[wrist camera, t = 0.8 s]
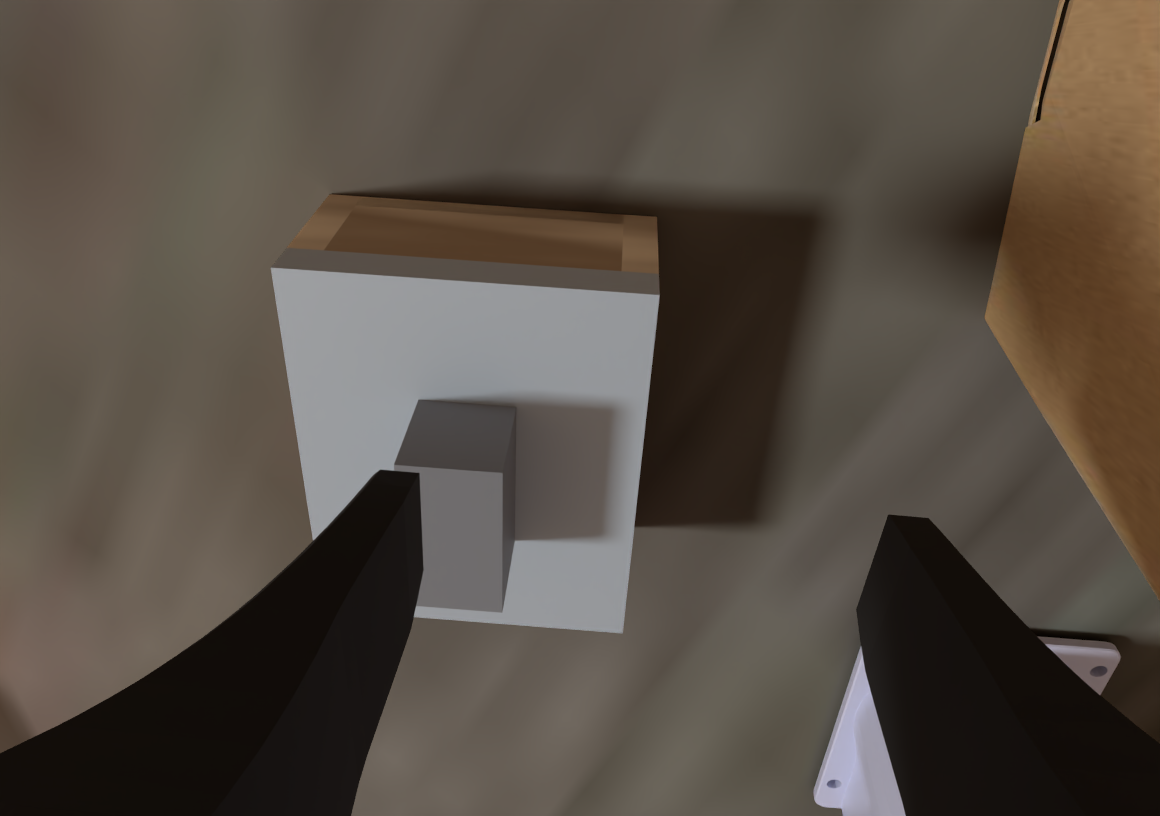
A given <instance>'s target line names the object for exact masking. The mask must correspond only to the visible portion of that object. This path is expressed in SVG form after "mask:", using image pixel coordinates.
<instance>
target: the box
mask: <svg viewBox="0 0 1160 816" xmlns="http://www.w3.org/2000/svg"><path fill="white" fill-rule="evenodd" d="M287 248H297V249H311V250H326V251H340V252H354V253H368V254H383V255H397V256H411V257H425V258H440V259H454V260H468V261H482V262H497V263H511V264H525V265H539V266H554V267H568V268H582V269H596V270H611V271H625V272H639V273H653V274H659V261H658V232H657V217H652V216H638V215H623V214H609V213H594V212H580V211H565V210H551V209H536V208H522V207H507V206H493V205H478V204H464V203H449V202H435V201H420V200H406V199H391V198H377V197H362V196H348V195H333V194H329V196H328V197H327V198H326V199H325V201H324V202H323V203H322V204H321V206H320V207H319V208H318V209H317V211H316V212H315V213H314V214H313V216H312V217H311V218H310V219H309V221H308V222H307V223H306V224H305V226H304V227H303V228H302V229H301V231H300V232H299V233H298V234H297V236H296V237H295V238H294V239H293V241H292V242H291V243H290V244H289V246H288V247H287Z"/></svg>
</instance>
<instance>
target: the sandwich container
mask: <svg viewBox="0 0 1160 816" xmlns="http://www.w3.org/2000/svg"><path fill="white" fill-rule="evenodd" d="M1064 2H1065V0H1060V1H1059V4H1058V8H1057V12H1056V16H1055V20H1054V24H1053V28H1052V32H1051V36H1050V40H1049V44H1048V48H1047V51H1046V55H1045V59H1044V63H1043V67H1042V71H1041V74H1040V78H1039V82H1038V86H1037V90H1036V93H1035V97H1034V101H1033V105H1032V109H1031V113H1030V118H1029V123H1028V127H1026V128H1025V133H1024V137H1023V142H1022V147H1021V151H1020V156H1019V161H1018V165H1017V170H1016V175H1015V179H1014V184H1013V189H1012V193H1011V198H1010V203H1009V207H1008V212H1007V217H1006V221H1005V226H1004V231H1003V235H1002V240H1001V244H1000V249H999V254H998V258H997V263H996V268H995V272H994V277H993V282H992V286H991V291H990V295H989V300H988V304H987V309H986V313H985V320H986V322H987V324H988V325H989V327H990V329H991V330H992V332H993V334H994V335H995V337H996V339H997V340H998V342H999V344H1000V345H1001V347H1002V349H1003V350H1004V352H1005V354H1006V355H1007V357H1008V359H1009V360H1010V362H1011V364H1012V365H1013V367H1014V369H1015V370H1016V372H1017V374H1018V375H1019V377H1020V379H1021V380H1022V382H1023V383H1024V385H1025V387H1026V388H1027V390H1028V392H1029V393H1030V395H1031V397H1032V398H1033V400H1034V402H1035V403H1036V405H1037V407H1038V408H1039V410H1040V412H1041V413H1042V415H1043V416H1044V418H1045V420H1046V421H1047V423H1048V424H1049V426H1050V428H1051V429H1052V431H1053V432H1054V434H1055V435H1056V437H1057V439H1058V440H1059V442H1060V443H1061V445H1062V447H1063V448H1064V450H1065V451H1066V453H1067V455H1068V456H1069V458H1070V459H1071V461H1072V462H1073V464H1074V466H1075V467H1076V469H1077V470H1078V472H1079V474H1080V475H1081V477H1082V478H1083V480H1084V482H1085V483H1086V485H1087V486H1088V488H1089V489H1090V491H1091V493H1092V494H1093V496H1094V497H1095V499H1096V501H1097V502H1098V504H1099V505H1100V507H1101V508H1102V510H1103V512H1104V513H1105V515H1106V516H1107V518H1108V520H1109V521H1110V523H1111V524H1112V526H1113V528H1114V529H1115V531H1116V532H1117V534H1118V535H1119V537H1120V539H1121V540H1122V542H1123V543H1124V545H1125V547H1126V548H1127V550H1128V551H1129V553H1130V555H1131V556H1132V558H1133V559H1134V561H1135V562H1136V564H1137V566H1138V567H1139V569H1140V570H1141V572H1142V574H1143V575H1144V577H1145V578H1146V580H1147V582H1148V583H1149V585H1150V586H1151V588H1152V589H1153V591H1154V593H1155V594H1156V596H1157V597H1158V599H1159V601H1160V0H1070V1H1069V4H1068V8H1067V12H1066V16H1065V19H1064V23H1063V27H1062V31H1061V34H1060V38H1059V42H1058V46H1057V49H1056V53H1055V57H1054V61H1053V64H1052V68H1051V72H1050V76H1049V79H1048V83H1047V87H1046V90H1045V94H1044V98H1043V102H1042V111H1041V120H1040V121H1038V122H1036V123H1035V120H1036V115H1037V109H1038V104H1039V98H1040V93H1041V88H1042V84H1043V80H1044V77H1045V73H1046V69H1047V65H1048V61H1049V58H1050V54H1051V50H1052V46H1053V42H1054V39H1055V35H1056V31H1057V27H1058V23H1059V20H1060V16H1061V12H1062V8H1063V5H1064Z"/></svg>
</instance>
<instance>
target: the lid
mask: <svg viewBox="0 0 1160 816" xmlns="http://www.w3.org/2000/svg"><path fill="white" fill-rule="evenodd" d="M271 272H272V278H273V285H274V291H275V298H276V304H277V311H278V317H279V323H280V330H281V336H282V343H283V349H284V356H285V362H286V369H287V375H288V381H289V388H290V394H291V401H292V407H293V414H294V420H295V427H296V433H297V440H298V446H299V452H300V459H301V465H302V472H303V478H304V485H305V491H306V498H307V504H308V510H309V517H310V523H311V530H312V536H313V541H314V540H315V539H316V537H317V536H318V535H319V534H320V533H321V532H322V531H323V530H324V529H325V528H326V527H327V526H328V525H329V524H330V523H331V522H332V521H333V520H334V519H335V518H336V517H337V515H338V514H339V513H340V512H341V511H342V510H343V509H344V508H345V507H346V506H347V505H348V503H349V502H350V501H351V500H352V499H353V498H354V497H355V496H356V494H357V493H358V492H359V491H360V490H361V489H362V487H363V486H364V485H365V484H366V483H367V482H368V480H369V479H370V478H371V477H372V476H373V475H374V474H375V473H376V472H378V471H379V470H380V469H381V470H392V471H403V472H415V473H420V496H421V520H422V544H423V568H424V571H423V576H422V580H421V585H420V590H419V595H418V600H417V604H416V609H415V613H414V617H421V618H434V619H447V620H459V621H472V622H485V623H498V624H510V625H523V626H536V627H549V628H561V629H574V630H587V631H600V632H612V633H623V625H624V615H625V606H626V597H627V588H628V579H629V570H630V561H631V552H632V543H633V534H634V524H635V515H636V506H637V497H638V488H639V479H640V470H641V461H642V452H643V442H644V433H645V424H646V415H647V406H648V397H649V388H650V379H651V370H652V361H653V351H654V342H655V333H656V324H657V315H658V306H659V297H660V290H659V274H653V273H639V272H625V271H611V270H596V269H582V268H568V267H554V266H539V265H525V264H511V263H497V262H482V261H468V260H454V259H440V258H425V257H411V256H397V255H383V254H368V253H354V252H340V251H326V250H311V249H297V248H286V249H285V251H284V252H283V253H282V254H281V256H280V257H279V258H278V259H277V261H276V262H275V263H274V264H273V266H272V267H271Z"/></svg>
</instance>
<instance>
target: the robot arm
mask: <svg viewBox="0 0 1160 816" xmlns="http://www.w3.org/2000/svg"><path fill="white" fill-rule="evenodd" d="M423 571H424V568H423V544H422V520H421V496H420V473H415V472H403V471H392V470H381V469H380V470H379V471H378V472H376V473H375V474H374V475H373V476H372V477H371V478H370V479H369V480H368V482H367V483H366V484H365V485H364V486H363V487H362V489H361V490H360V491H359V492H358V493H357V494H356V496H355V497H354V498H353V499H352V500H351V501H350V502H349V503H348V505H347V506H346V507H345V508H344V509H343V510H342V511H341V512H340V513H339V514H338V515H337V517H336V518H335V519H334V520H333V521H332V522H331V523H330V524H329V525H328V526H327V527H326V528H325V529H324V530H323V531H322V532H321V533H320V534H319V535H318V536H317V537H316V539H315V540H314V541H313V542H312V543H311V544H310V545H309V546H308V547H307V548H306V549H305V550H304V551H303V552H302V553H301V554H300V555H299V556H298V557H297V558H296V559H295V560H294V561H293V562H292V563H290V564H289V565H288V566H287V567H286V568H285V569H284V570H283V571H282V572H281V573H280V574H278V575H277V576H276V577H275V578H274V579H273V580H272V581H271V582H270V583H269V584H267V585H266V586H265V587H264V588H263V589H262V590H261V591H260V592H259V593H258V594H256V595H255V596H254V597H253V598H252V599H251V600H249V601H248V602H247V603H246V604H245V605H243V606H242V607H241V608H240V609H239V610H237V611H236V612H235V613H234V614H232V615H231V616H230V617H229V618H227V619H226V620H225V621H224V622H222V623H221V624H220V625H218V626H217V627H216V628H214V629H213V630H212V631H210V632H209V633H208V634H207V635H205V636H204V637H203V638H201V639H200V640H198V641H197V642H195V643H194V644H193V645H191V646H190V647H188V648H187V649H185V650H184V651H183V652H181V653H180V654H178V655H177V656H175V657H174V658H172V659H171V660H169V661H168V662H166V663H165V664H163V665H162V666H160V667H159V668H157V669H156V670H154V671H153V672H151V673H150V674H148V675H147V676H145V677H144V678H142V679H140V680H139V681H137V682H135V683H134V684H132V685H130V686H129V687H127V688H125V689H124V690H122V691H120V692H118V693H117V694H115V695H113V696H112V697H110V698H108V699H106V700H105V701H103V702H101V703H99V704H97V705H96V706H94V707H92V708H90V709H88V710H86V711H85V712H83V713H81V714H79V715H77V716H75V717H74V718H72V719H70V720H68V721H66V722H64V723H62V724H60V725H58V726H56V727H54V728H52V729H50V730H48V731H46V732H44V733H42V734H39V735H37V736H35V737H33V738H31V739H29V740H27V741H25V742H23V743H21V744H19V745H17V746H15V747H13V748H10V749H8V750H6V751H4V752H2V753H0V816H351V813H352V809H353V805H354V801H355V796H356V792H357V788H358V784H359V781H360V777H361V774H362V771H363V767H364V764H365V761H366V757H367V754H368V751H369V749H370V746H371V743H372V740H373V737H374V734H375V731H376V729H377V726H378V723H379V720H380V717H381V714H382V711H383V709H384V706H385V703H386V700H387V697H388V694H389V691H390V689H391V686H392V683H393V680H394V677H395V674H396V671H397V668H398V666H399V663H400V660H401V657H402V654H403V651H404V648H405V645H406V642H407V639H408V636H409V633H410V630H411V627H412V622H413V618H414V613H415V609H416V604H417V600H418V595H419V590H420V585H421V580H422V576H423ZM856 610H857V618H858V626H859V633H860V641H861V647H860V650H859V653H858V656H857V659H856V662H855V665H854V668H853V671H852V675H851V678H850V681H849V684H848V687H847V690H846V693H845V696H844V699H843V702H842V705H841V708H840V711H839V714H838V717H837V720H836V723H835V726H834V730H833V733H832V736H831V739H830V742H829V745H828V748H827V751H826V754H825V757H824V760H823V763H822V766H821V769H820V772H819V775H818V778H817V781H816V784H815V788H814V799H815V802H816V803H817V804H819V805H820V806H823V807H831V808H842V812H843V816H1160V744H1159V743H1158V742H1157V741H1155V740H1154V739H1153V738H1151V737H1150V736H1149V735H1148V734H1146V733H1145V732H1144V731H1142V730H1141V729H1140V728H1139V727H1137V726H1136V725H1135V724H1134V723H1133V722H1131V721H1130V720H1129V719H1128V718H1127V717H1125V716H1124V715H1123V714H1122V713H1121V712H1119V711H1118V710H1117V709H1116V708H1115V707H1113V706H1112V705H1111V704H1110V703H1109V702H1108V701H1106V700H1105V699H1104V698H1103V697H1102V696H1100V695H1101V693H1102V691H1103V690H1104V688H1105V686H1106V684H1107V683H1108V681H1109V679H1110V677H1111V676H1112V674H1113V672H1114V670H1115V669H1116V667H1117V665H1118V663H1119V662H1120V658H1121V656H1120V653H1119V651H1118V650H1117V648H1116V646H1115V645H1114V644H1112V643H1109V642H1104V641H1091V640H1078V639H1065V638H1052V637H1039V636H1036V635H1035V634H1034V633H1033V632H1032V631H1031V630H1030V629H1029V628H1028V627H1027V626H1026V625H1025V624H1024V623H1023V621H1022V620H1021V619H1020V618H1019V617H1018V616H1017V615H1016V614H1015V613H1014V612H1013V611H1012V610H1011V609H1010V608H1009V607H1008V606H1007V605H1006V604H1005V602H1004V601H1003V600H1002V599H1001V598H1000V597H999V596H998V595H997V594H996V593H995V592H994V591H993V589H992V588H991V587H990V586H989V585H988V584H987V583H986V582H985V581H984V580H983V578H982V577H981V576H980V575H979V574H978V573H977V572H976V571H975V569H974V568H973V567H972V566H971V565H970V564H969V563H968V562H967V560H966V559H965V558H964V557H963V556H962V555H961V554H960V553H959V551H958V550H957V549H956V548H955V547H954V546H953V545H952V544H951V542H950V541H949V540H948V539H947V538H946V537H945V536H944V535H943V533H942V532H941V531H940V530H939V529H938V528H937V527H936V526H935V525H934V524H933V523H932V521H931V520H930V519H929V518H921V517H909V516H898V515H888V517H887V520H886V523H885V526H884V529H883V532H882V535H881V538H880V541H879V544H878V547H877V550H876V553H875V556H874V559H873V562H872V565H871V568H870V571H869V573H868V576H867V579H866V582H865V585H864V588H863V591H862V594H861V597H860V600H859V603H858V606H857V609H856Z"/></svg>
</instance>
